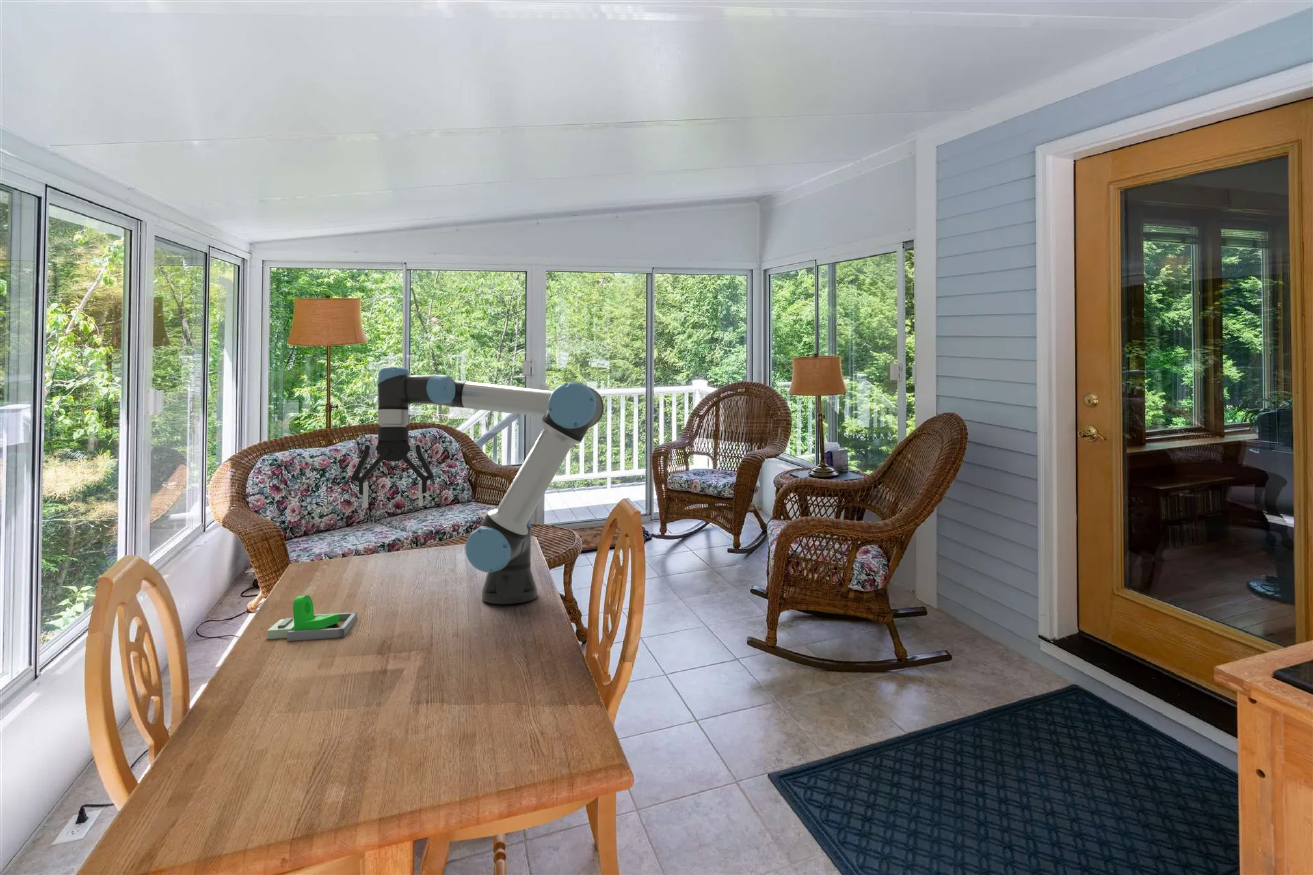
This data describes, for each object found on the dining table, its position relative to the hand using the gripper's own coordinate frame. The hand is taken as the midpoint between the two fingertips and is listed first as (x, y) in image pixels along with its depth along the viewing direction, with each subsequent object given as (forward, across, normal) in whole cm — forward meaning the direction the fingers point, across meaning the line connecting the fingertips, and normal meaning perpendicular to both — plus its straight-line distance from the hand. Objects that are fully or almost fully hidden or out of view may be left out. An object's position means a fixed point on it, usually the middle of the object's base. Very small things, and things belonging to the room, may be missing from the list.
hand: (393, 506), depth 175 cm
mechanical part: (+28, +15, +10) cm, 33 cm away
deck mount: (+29, +15, +10) cm, 34 cm away
